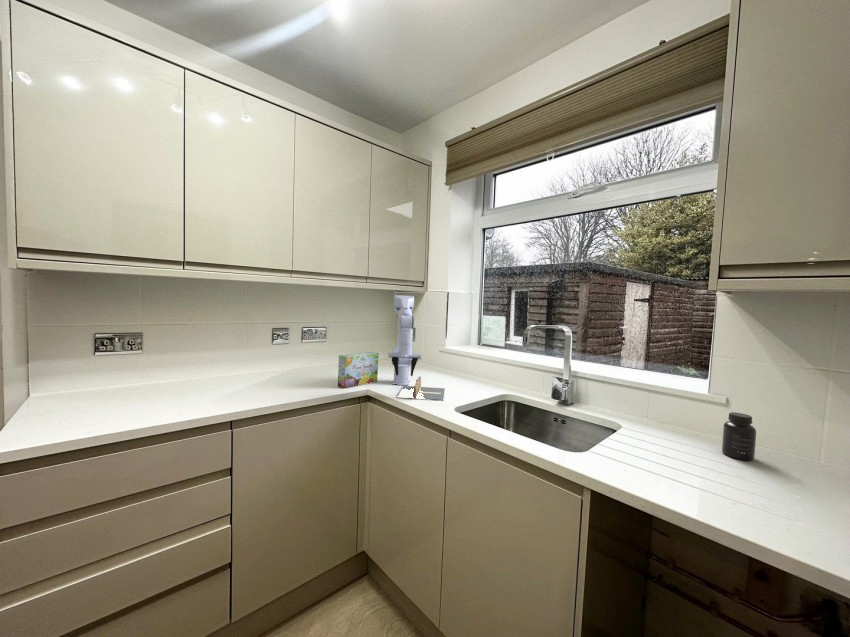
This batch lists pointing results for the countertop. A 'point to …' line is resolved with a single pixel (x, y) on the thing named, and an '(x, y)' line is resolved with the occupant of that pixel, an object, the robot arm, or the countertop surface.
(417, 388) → the hinged fence section
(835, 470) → the countertop surface
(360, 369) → the snack box
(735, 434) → the supplement bottle
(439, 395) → the board
